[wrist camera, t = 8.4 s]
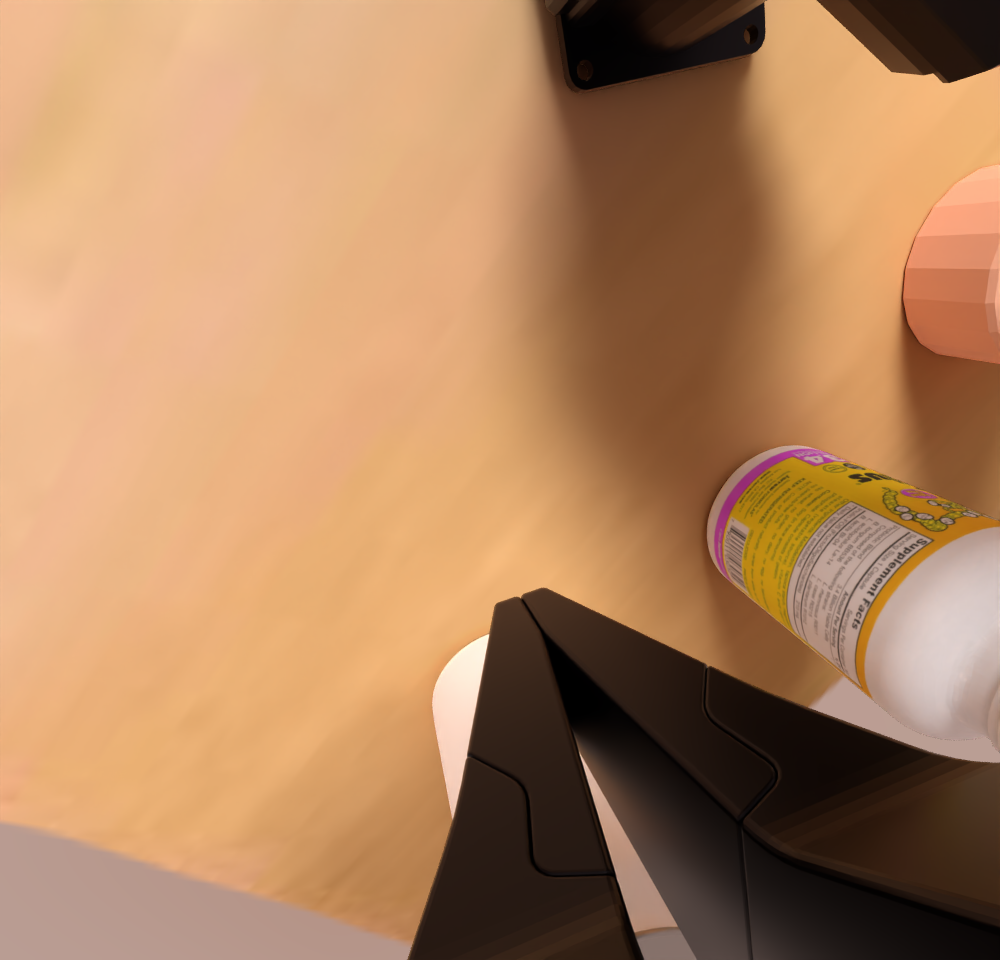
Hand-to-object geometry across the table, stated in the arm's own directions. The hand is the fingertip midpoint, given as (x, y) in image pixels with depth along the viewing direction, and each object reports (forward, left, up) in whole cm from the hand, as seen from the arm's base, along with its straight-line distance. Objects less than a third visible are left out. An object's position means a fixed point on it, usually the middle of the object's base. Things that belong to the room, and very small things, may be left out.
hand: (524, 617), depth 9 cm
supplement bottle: (-13, +8, -12) cm, 20 cm away
